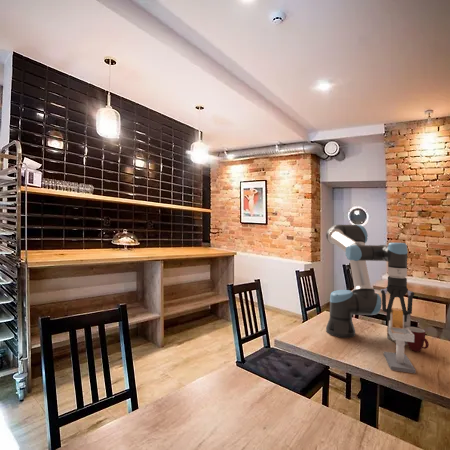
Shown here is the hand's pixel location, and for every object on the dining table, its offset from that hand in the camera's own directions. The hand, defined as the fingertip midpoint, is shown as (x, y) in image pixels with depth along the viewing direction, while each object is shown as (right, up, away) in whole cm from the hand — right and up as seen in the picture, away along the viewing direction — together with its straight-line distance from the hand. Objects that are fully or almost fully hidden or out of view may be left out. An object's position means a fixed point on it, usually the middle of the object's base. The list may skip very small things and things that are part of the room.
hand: (396, 327), depth 132 cm
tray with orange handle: (-2, -2, -5) cm, 5 cm away
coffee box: (+13, -14, +20) cm, 27 cm away
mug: (+15, -14, +8) cm, 22 cm away
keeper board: (-2, -14, -5) cm, 15 cm away
